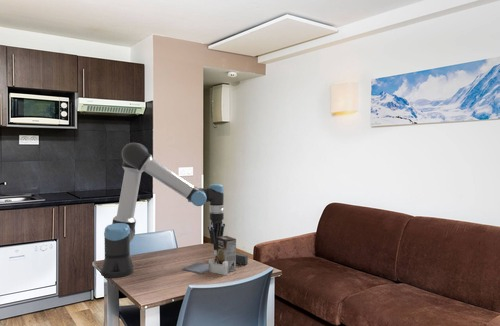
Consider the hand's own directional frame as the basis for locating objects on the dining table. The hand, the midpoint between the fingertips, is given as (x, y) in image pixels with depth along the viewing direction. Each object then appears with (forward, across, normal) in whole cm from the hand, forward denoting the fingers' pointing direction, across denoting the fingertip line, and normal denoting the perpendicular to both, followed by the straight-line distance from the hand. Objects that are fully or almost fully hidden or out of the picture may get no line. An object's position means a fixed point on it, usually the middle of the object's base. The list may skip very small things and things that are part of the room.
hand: (216, 255), depth 205 cm
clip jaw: (+3, -16, -13) cm, 21 cm away
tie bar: (+3, +2, -8) cm, 9 cm away
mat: (+3, -16, -1) cm, 16 cm away
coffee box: (+3, -9, -13) cm, 16 cm away
